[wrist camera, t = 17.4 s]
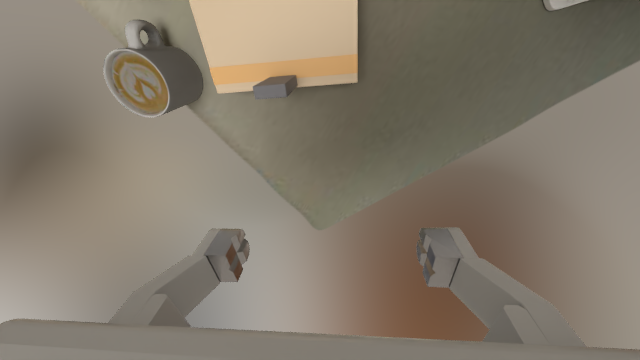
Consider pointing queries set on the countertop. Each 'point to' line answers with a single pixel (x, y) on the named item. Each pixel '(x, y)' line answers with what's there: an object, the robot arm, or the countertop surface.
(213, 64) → the carton lid
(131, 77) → the coffee mug
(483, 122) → the countertop surface
